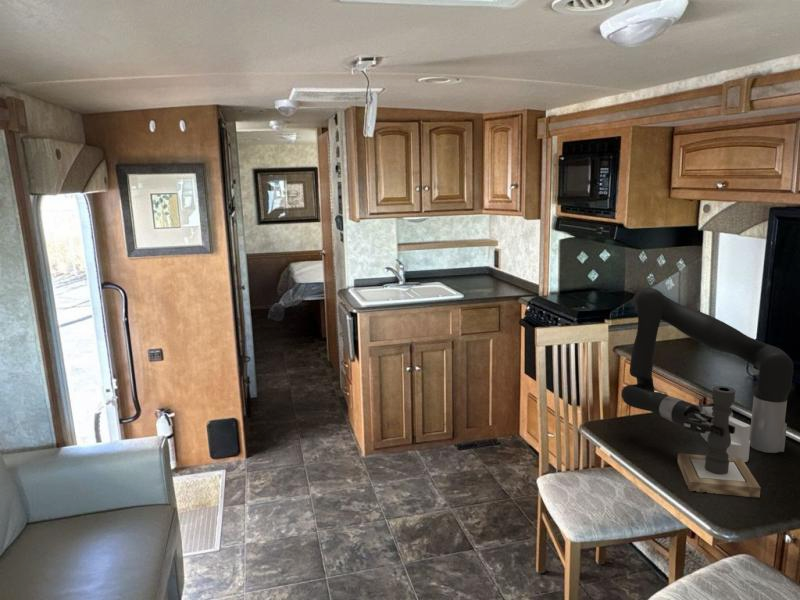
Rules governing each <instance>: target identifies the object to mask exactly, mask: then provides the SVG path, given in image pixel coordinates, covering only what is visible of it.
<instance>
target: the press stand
mask: <svg viewBox="0 0 800 600" xmlns="http://www.w3.org/2000/svg"><path fill="white" fill-rule="evenodd" d="M706 456H707V455H703V454H692V453H691V454H690V453H679V452H678V453H677V465H678V467H679V469H680V473H682V476H683V477H682V478H683V479H684V482H685V484H686V486H688V487H687V489H688V491H689V492H693V491H696V492H695V493H703V492H707V493H706V494H714V493H715V494H717V495H725V496H738V497H747V498H748V497H749V498H759V499H760V497H761V496H760V495H761V489H762V487H761V486H760V484H759V483H758V481H757V479H756V478H755V477H754V475H753V474H752V472H751V470H750V469H749V468H748V466H747V465H746V462H745V463H744V461H743V460H742V458H730V457H728V460H729V462H734V464H735V465H736V467H737V469H738V470H739V472H740V473H741V475H742V477H743V478H744V480H745V482H738V481H726V480H715V479H703V478H698V477H697V475H696V472H695V470H694V468H693V466H692V464H691V462H690V459H701V460H706Z"/></svg>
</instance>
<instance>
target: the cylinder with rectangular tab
mask: <svg viewBox="0 0 800 600" xmlns="http://www.w3.org/2000/svg"><path fill="white" fill-rule="evenodd" d="M728 424H730V425H732V426H734V427H735V433H733V434H731V433H730V437H731V444H730V446H729V447H728V448H727V451H726V452H727V454H728V455H729V457H730V458H742V460H743V461H744V463H745V464H746V462H747V463H748V461H749V457H750V447H751V446H750V440H749V438H750V428H751V424H748V423H746V422H744V421H741V420H739V419H737V418H735V417H733V418H732V417H730V416H729V423H728Z"/></svg>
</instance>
